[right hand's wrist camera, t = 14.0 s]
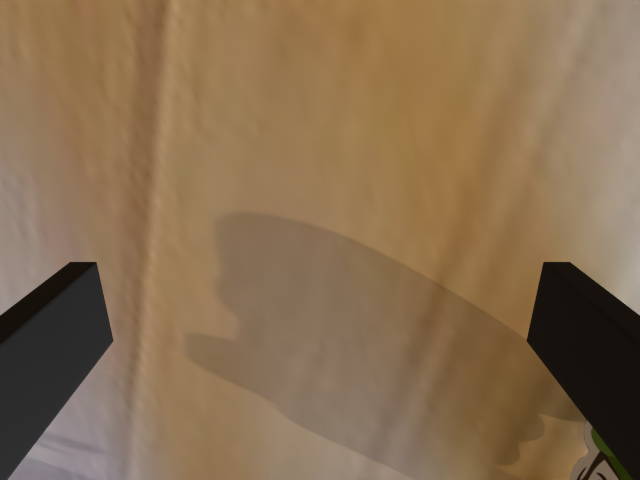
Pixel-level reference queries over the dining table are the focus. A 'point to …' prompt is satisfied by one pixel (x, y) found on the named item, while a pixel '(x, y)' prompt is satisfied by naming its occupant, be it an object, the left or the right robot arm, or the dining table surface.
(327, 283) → the dining table surface
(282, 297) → the dining table surface
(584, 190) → the dining table surface
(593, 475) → the cutout
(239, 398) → the dining table surface
